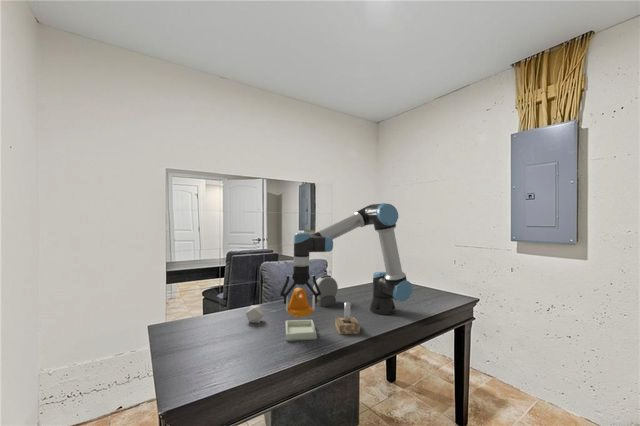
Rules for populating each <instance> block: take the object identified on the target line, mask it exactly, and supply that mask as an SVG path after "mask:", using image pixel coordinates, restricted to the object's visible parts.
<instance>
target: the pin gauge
mask: <svg viewBox="0 0 640 426" xmlns="http://www.w3.org/2000/svg"><path fill="white" fill-rule="evenodd" d="M343 307H344V309H343V312H344V313H343V314H344V316H343V318H344V323H351V317H352V316H351V315H352V302H351V301H348V302H347V301H345V302H344V306H343Z"/></svg>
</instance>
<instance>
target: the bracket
mask: <svg viewBox="0 0 640 426" xmlns="http://www.w3.org/2000/svg"><path fill="white" fill-rule="evenodd" d="M307 295H308V293H307V291H306V290H305V289H304V288H301V287H294V288H293V290H292V293H291V297H290V299H289V301H288V311H286V312H287V313H288V314H289V315H290V316H291V317H296V318H303V317H304V318H305V317H309V316H310V314H311V315H312V314H314V311H313V307H311V306H310V305H309V300H308V298H307Z"/></svg>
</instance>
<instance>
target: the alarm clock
mask: <svg viewBox="0 0 640 426" xmlns="http://www.w3.org/2000/svg"><path fill="white" fill-rule="evenodd" d="M316 283H317V285H318V287H319V290H320V292H321V295H319V296H317V303H315V306H316V305H317V306H318V307H330V306H333V305H336V304H337V299H336V296H337V294H338V290H339V289H338V288H339V286H338V282H337V281H336V280H335V278H333V277H332V276H331V275H329V274H323V275H321V276H320V277H318V278H317V279H316ZM312 288H313V289H314V291H315V292H316V293H317V289H316V287H315V285H313V286H312Z"/></svg>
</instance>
